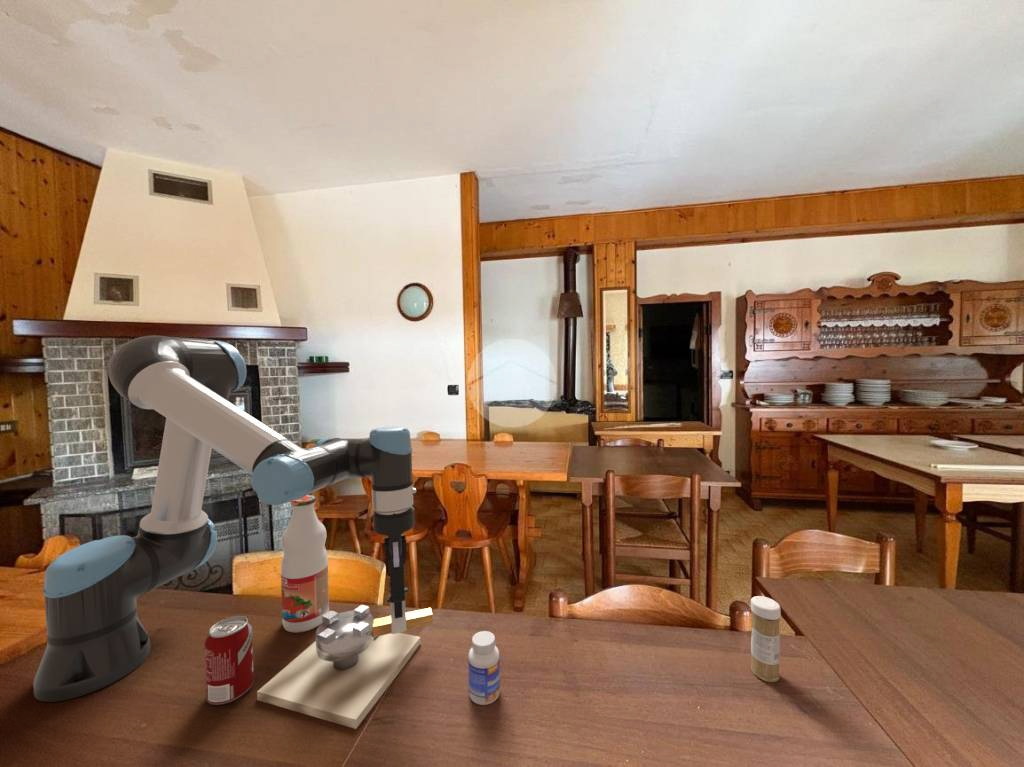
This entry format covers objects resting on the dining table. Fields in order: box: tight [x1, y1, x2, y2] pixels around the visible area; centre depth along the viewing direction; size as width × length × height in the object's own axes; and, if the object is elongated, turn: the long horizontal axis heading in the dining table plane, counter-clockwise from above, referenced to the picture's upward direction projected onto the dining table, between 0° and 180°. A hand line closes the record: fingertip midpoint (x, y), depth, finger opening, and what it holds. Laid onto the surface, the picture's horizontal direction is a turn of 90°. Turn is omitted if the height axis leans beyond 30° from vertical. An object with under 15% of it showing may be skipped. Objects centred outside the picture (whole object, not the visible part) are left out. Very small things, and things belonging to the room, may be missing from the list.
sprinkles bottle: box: [750, 595, 781, 683], centre depth 72 cm, size 5×5×13 cm
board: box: [256, 632, 422, 730], centre depth 74 cm, size 20×20×5 cm
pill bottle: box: [467, 630, 501, 706], centre depth 68 cm, size 5×5×10 cm
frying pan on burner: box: [315, 604, 433, 662], centre depth 76 cm, size 21×10×4 cm, turn 110°
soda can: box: [204, 615, 255, 706], centre depth 69 cm, size 7×7×12 cm
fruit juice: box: [280, 494, 330, 633], centre depth 89 cm, size 9×9×28 cm
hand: (399, 630), depth 75 cm, fingers closed
